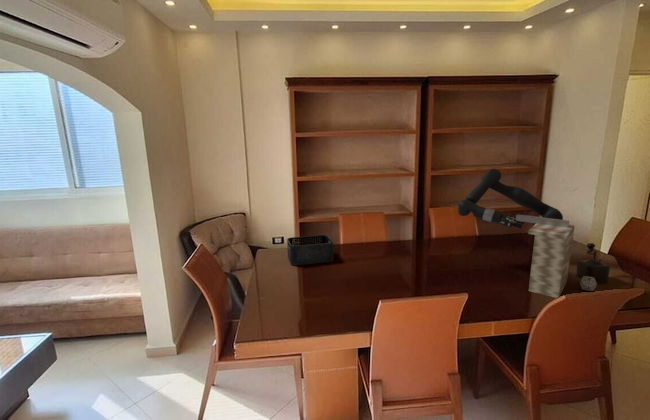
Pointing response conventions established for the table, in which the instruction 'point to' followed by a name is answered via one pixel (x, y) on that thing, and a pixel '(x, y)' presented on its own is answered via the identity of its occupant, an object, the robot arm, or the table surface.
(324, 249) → the storage bin
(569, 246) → the zigzag patterned box
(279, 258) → the table surface
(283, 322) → the table surface
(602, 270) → the black coffee grinder
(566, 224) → the steel bar
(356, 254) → the table surface
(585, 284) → the game die
